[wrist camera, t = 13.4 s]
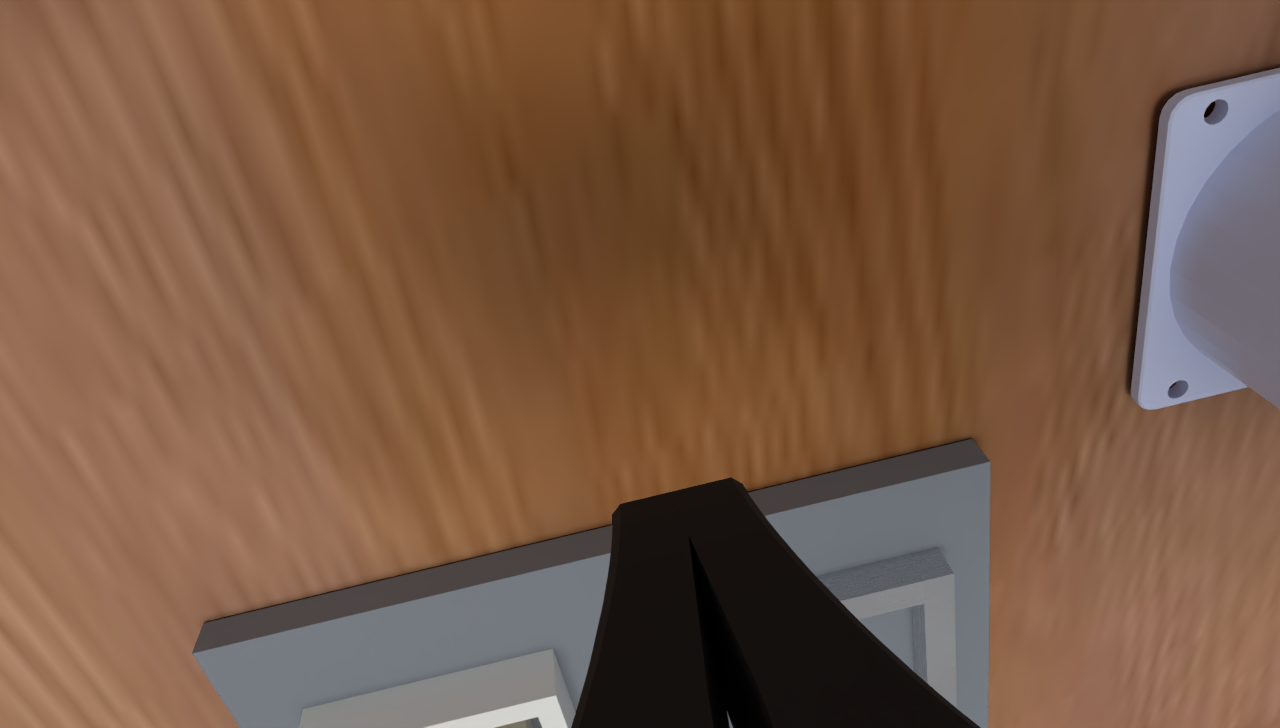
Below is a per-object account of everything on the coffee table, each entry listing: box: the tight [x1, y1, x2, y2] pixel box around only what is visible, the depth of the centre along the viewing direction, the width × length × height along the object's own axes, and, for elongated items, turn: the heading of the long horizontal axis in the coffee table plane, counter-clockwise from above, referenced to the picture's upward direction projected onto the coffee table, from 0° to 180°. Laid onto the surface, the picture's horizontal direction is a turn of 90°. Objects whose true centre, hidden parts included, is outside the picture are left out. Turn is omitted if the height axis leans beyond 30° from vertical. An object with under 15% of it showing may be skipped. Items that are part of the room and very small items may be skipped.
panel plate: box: [192, 439, 991, 728], centre depth 26 cm, size 20×12×1 cm, turn 101°
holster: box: [816, 547, 957, 708], centre depth 25 cm, size 7×7×1 cm
